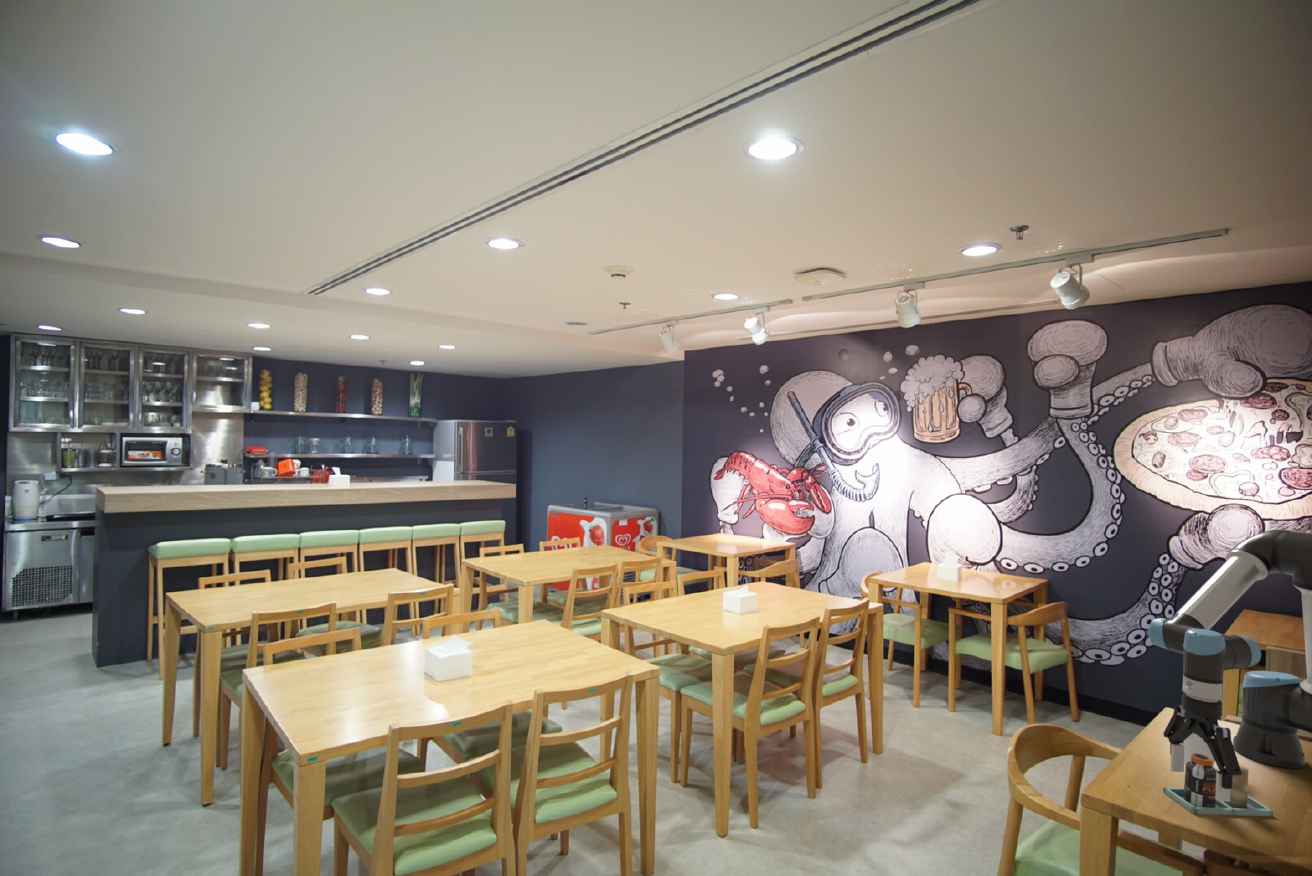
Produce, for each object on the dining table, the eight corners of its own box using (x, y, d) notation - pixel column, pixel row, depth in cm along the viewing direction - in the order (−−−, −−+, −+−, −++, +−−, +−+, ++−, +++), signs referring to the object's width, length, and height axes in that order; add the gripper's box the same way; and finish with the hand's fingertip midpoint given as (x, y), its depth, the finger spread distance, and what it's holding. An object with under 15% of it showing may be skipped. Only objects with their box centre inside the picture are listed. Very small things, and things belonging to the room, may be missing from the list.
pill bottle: (1205, 812, 159) (1207, 764, 159) (1177, 799, 165) (1180, 752, 165) (1221, 807, 162) (1223, 760, 161) (1193, 794, 167) (1196, 748, 167)
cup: (1230, 780, 177) (1231, 738, 177) (1186, 775, 179) (1188, 733, 179) (1207, 762, 187) (1209, 722, 187) (1166, 758, 189) (1168, 718, 189)
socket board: (1237, 798, 168) (1238, 789, 168) (1273, 820, 159) (1273, 810, 159) (1162, 796, 168) (1163, 787, 168) (1193, 818, 159) (1194, 808, 159)
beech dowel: (1236, 799, 166) (1237, 762, 166) (1252, 809, 161) (1253, 771, 161) (1218, 798, 166) (1219, 761, 166) (1233, 808, 161) (1235, 770, 161)
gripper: (1148, 677, 176) (1145, 759, 176) (1230, 717, 151) (1227, 813, 151) (1177, 677, 176) (1174, 760, 176) (1264, 718, 151) (1261, 814, 151)
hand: (1198, 785), depth 164 cm, fingers open, 13 cm apart
